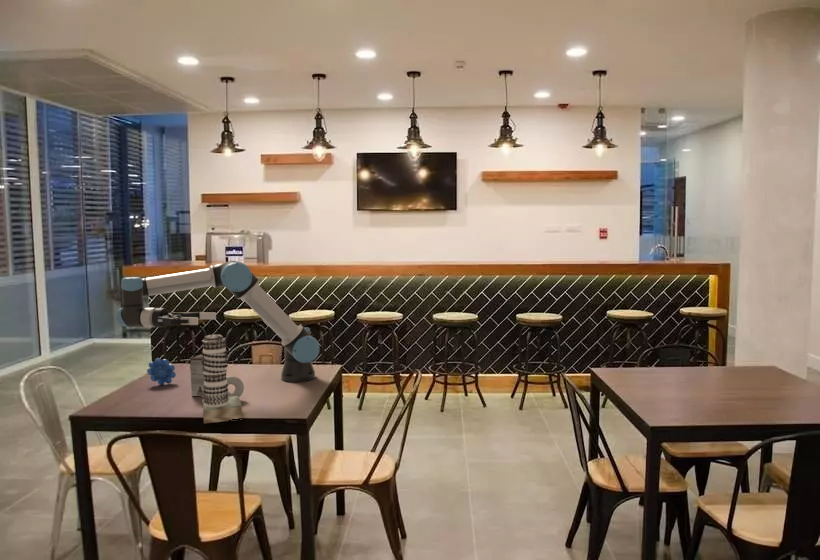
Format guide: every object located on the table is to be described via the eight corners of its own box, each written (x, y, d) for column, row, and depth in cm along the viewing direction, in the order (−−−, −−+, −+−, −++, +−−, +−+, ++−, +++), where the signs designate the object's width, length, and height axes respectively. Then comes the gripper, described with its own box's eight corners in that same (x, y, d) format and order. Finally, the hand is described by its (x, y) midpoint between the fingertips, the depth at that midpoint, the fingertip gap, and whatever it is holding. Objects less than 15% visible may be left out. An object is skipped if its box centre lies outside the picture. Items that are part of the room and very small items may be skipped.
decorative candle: (226, 407, 221) (223, 337, 219) (199, 408, 221) (196, 338, 218) (232, 400, 230) (230, 333, 228) (207, 400, 230) (204, 333, 228)
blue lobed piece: (148, 388, 269) (146, 361, 268) (147, 385, 275) (146, 358, 274) (176, 385, 273) (175, 358, 272) (175, 382, 279) (174, 355, 278)
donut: (217, 402, 246) (216, 377, 245) (218, 400, 249) (217, 375, 248) (244, 400, 247) (243, 376, 247) (244, 398, 251) (243, 374, 250)
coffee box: (202, 391, 263) (201, 353, 262) (216, 391, 262) (215, 354, 260) (191, 397, 254) (189, 358, 253) (205, 397, 253) (203, 358, 252)
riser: (239, 408, 237) (238, 395, 236) (242, 419, 223) (241, 405, 223) (203, 412, 232) (202, 399, 232) (203, 423, 219) (203, 409, 219)
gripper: (174, 322, 255) (222, 323, 251) (137, 332, 230) (189, 333, 226) (173, 304, 254) (221, 304, 250) (136, 312, 230) (189, 313, 226)
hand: (206, 318), depth 238 cm, fingers open, 13 cm apart
